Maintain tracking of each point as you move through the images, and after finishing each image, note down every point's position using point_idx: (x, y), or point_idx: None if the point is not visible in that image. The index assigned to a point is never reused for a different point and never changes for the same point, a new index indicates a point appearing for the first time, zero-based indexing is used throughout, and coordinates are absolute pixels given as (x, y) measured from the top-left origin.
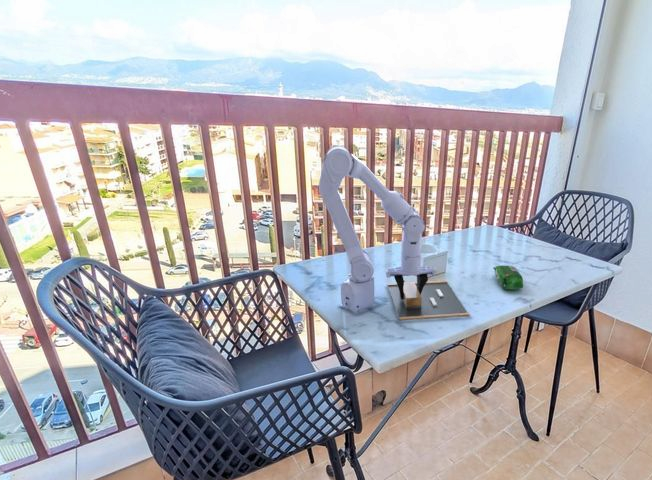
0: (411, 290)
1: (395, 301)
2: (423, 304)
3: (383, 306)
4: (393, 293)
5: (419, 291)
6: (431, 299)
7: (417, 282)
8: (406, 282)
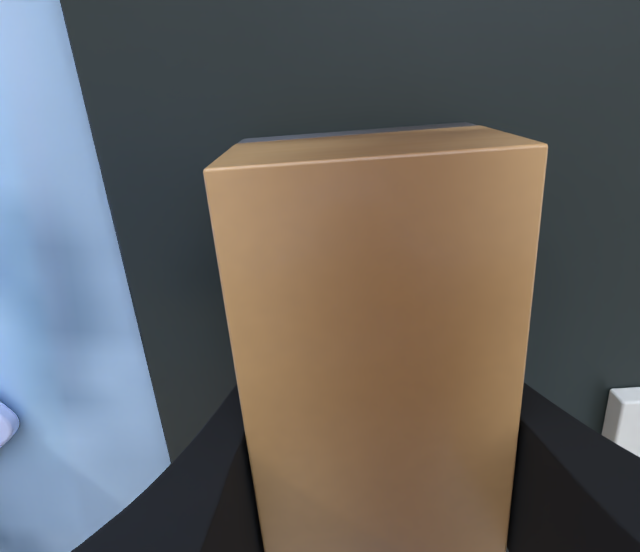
0: (397, 535)
1: (183, 416)
2: None
3: (61, 439)
4: (144, 177)
5: (517, 548)
6: (627, 446)
7: (576, 526)
8: (360, 205)
